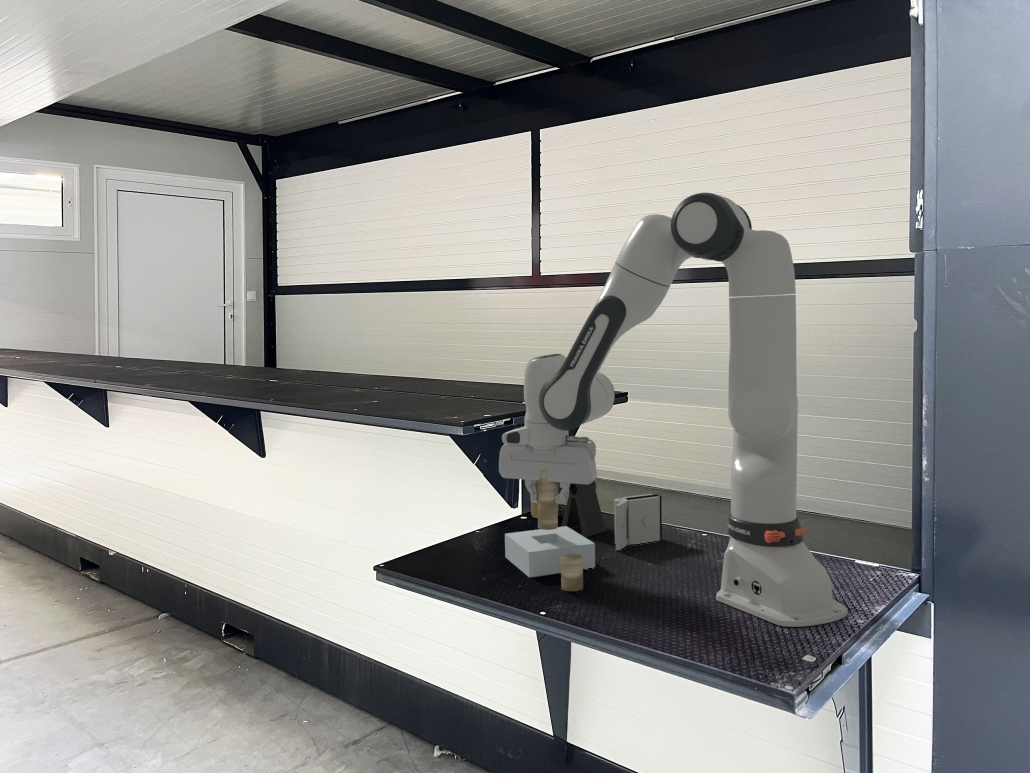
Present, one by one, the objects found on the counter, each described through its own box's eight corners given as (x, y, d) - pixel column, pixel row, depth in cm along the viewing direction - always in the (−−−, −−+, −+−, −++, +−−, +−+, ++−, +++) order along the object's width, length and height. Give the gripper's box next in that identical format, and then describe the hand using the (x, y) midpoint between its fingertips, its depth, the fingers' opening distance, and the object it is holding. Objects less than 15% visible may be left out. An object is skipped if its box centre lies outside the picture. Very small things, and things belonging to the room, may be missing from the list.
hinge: (618, 552, 169) (617, 505, 168) (601, 547, 174) (600, 501, 173) (665, 540, 177) (664, 495, 176) (647, 535, 182) (647, 491, 181)
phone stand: (606, 532, 184) (605, 481, 183) (588, 537, 181) (587, 485, 179) (578, 525, 191) (577, 475, 190) (560, 530, 187) (559, 479, 186)
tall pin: (560, 528, 162) (560, 469, 161) (542, 530, 160) (541, 471, 159) (553, 523, 166) (552, 466, 164) (535, 525, 164) (534, 467, 163)
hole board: (595, 567, 159) (594, 543, 159) (529, 577, 155) (528, 552, 154) (566, 548, 173) (566, 526, 172) (505, 557, 168) (504, 533, 167)
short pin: (586, 590, 147) (586, 558, 146) (566, 594, 145) (566, 561, 145) (577, 584, 151) (577, 552, 150) (558, 587, 149) (557, 555, 149)
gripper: (600, 434, 160) (601, 503, 161) (508, 430, 168) (509, 494, 170) (590, 439, 154) (590, 510, 155) (494, 434, 163) (496, 501, 164)
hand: (547, 502), depth 162 cm, fingers closed on tall pin, 4 cm apart
